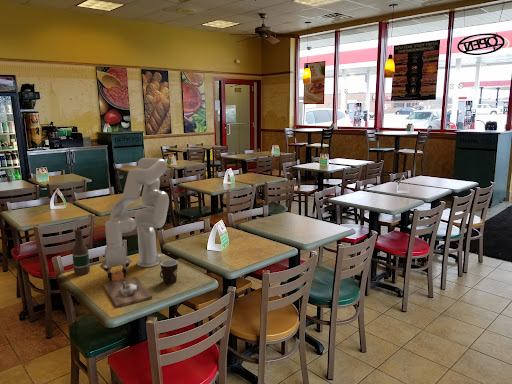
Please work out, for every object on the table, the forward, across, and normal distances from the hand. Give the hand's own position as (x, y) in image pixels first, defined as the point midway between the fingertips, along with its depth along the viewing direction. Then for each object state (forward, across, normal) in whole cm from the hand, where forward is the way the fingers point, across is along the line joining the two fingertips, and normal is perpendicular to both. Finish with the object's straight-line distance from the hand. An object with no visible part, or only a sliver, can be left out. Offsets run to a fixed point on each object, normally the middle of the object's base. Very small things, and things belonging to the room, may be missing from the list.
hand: (117, 277), depth 203 cm
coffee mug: (+1, -20, +19) cm, 28 cm away
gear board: (+1, 0, +19) cm, 19 cm away
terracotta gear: (+1, 0, 0) cm, 1 cm away
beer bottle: (+1, +14, -18) cm, 23 cm away
